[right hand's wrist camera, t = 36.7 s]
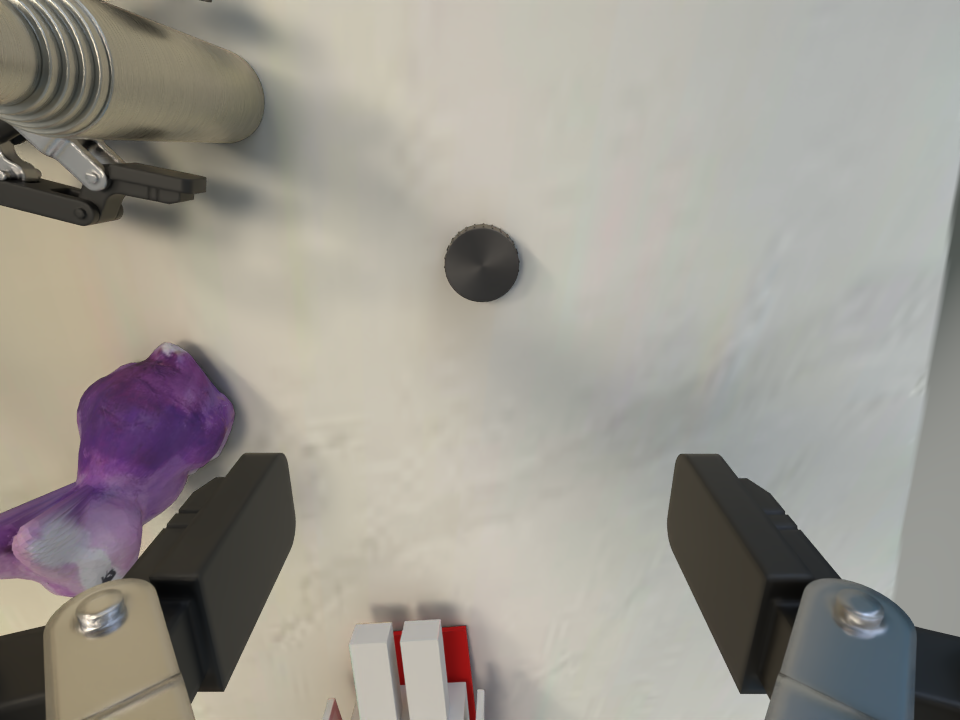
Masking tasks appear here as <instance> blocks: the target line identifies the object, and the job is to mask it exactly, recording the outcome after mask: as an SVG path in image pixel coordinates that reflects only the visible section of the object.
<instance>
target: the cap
mask: <svg viewBox="0 0 960 720" xmlns="http://www.w3.org/2000/svg"><path fill="white" fill-rule="evenodd" d="M517 254H518V252H517V249H515V246H514V242H513V241H511V239H510V238H509V236H508V234H505V233H504V232H503V231H502V230H501V229H498V228H496V227H494V226H493V225H492V226H491V225H485V224H484V223H483V224H479V225H475V224H474V225H473V226H470V227H466V228H465V229H463V230H462V231H461V232H458V234H457V235H456V236H455V237H454V238H452V241H451V243H450V246H449V245H448V248H447V254H446V255H445V266H444V268H445V272H446V277H447V279H448V281H449V283H450V285H451V286H452V288H453V289H454V290H455V291H456V292H457V293H458V294H459V295H461V296H462V297H464V298H466V299H468V300H472V301H476V302H488V301H492V300H495V299H497V298H499V297H501V296H503V295H504V294H505V293H507V292H508V291H509V290H510V288H511V287H512V286H513V284H514V282H515V280H516V278H517V275H518V272H519V259H518V255H517Z"/></svg>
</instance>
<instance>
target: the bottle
mask: <svg viewBox="0 0 960 720" xmlns="http://www.w3.org/2000/svg"><path fill="white" fill-rule="evenodd" d="M263 112H264V94H263V89H262V86H261V83H260V81H259V78H258V77H257V75H256V73H255V72H254V70H253V69H252V67H251V66H250V65H249V64H248V63H247V62H246V61H245V60H244V59H243V58H241V57H240V56H238V55H237V54H235V53H233V52H231V51H228V50H226V49H223V48H221V47H218V46H216V45H213V44H211V43H208V42H206V41H203V40H200V39H198V38H195V37H193V36H190V35H188V34H185V33H183V32H180V31H178V30H175V29H172V28H170V27H167V26H165V25H162V24H160V23H157V22H155V21H152V20H150V19H147V18H145V17H142V16H139V15H137V14H134V13H132V12H129V11H127V10H124V9H122V8H119V7H117V6H114V5H111V4H109V3H106V2H104V1H101V0H0V119H1V120H3V121H5V122H7V123H8V124H10V125H12V126H14V127H16V128H18V129H20V130H23V131H26V132H29V133H34V134H37V135H40V136H45V137H49V138H67V139H102V140H138V141H173V142H209V143H234V142H238V141H241V140H243V139H245V138H247V137H248V136H250V135H251V134H252V133H253V132H254V131H255V130H256V128H257V127H258V126H259V124H260V122H261V119H262V116H263Z"/></svg>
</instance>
